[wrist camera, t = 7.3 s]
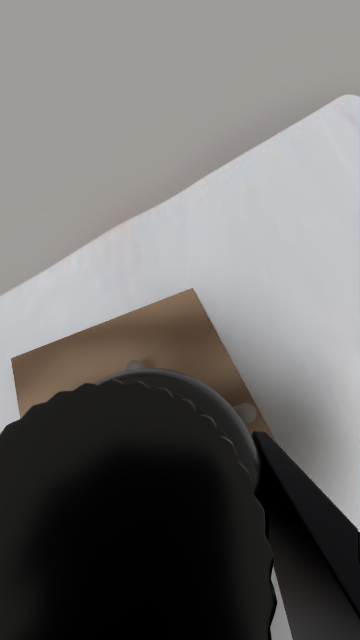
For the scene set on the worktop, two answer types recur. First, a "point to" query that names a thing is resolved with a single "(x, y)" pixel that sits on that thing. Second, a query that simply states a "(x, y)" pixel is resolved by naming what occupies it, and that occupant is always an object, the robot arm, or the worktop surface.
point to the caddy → (138, 356)
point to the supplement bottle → (134, 516)
